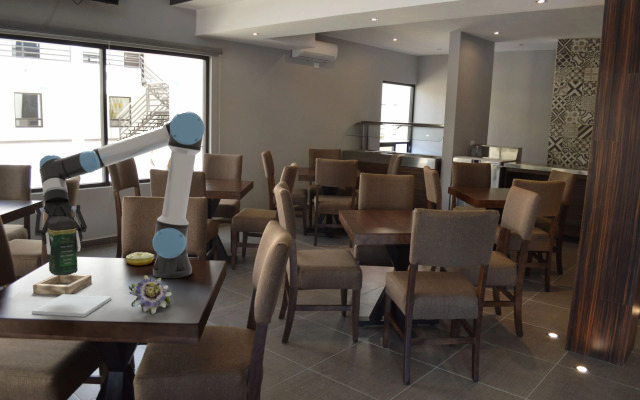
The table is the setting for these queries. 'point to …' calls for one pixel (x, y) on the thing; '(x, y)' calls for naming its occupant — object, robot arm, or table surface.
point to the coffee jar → (62, 246)
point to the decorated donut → (139, 258)
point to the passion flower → (150, 294)
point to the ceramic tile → (72, 305)
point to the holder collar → (51, 288)
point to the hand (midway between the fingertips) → (64, 250)
